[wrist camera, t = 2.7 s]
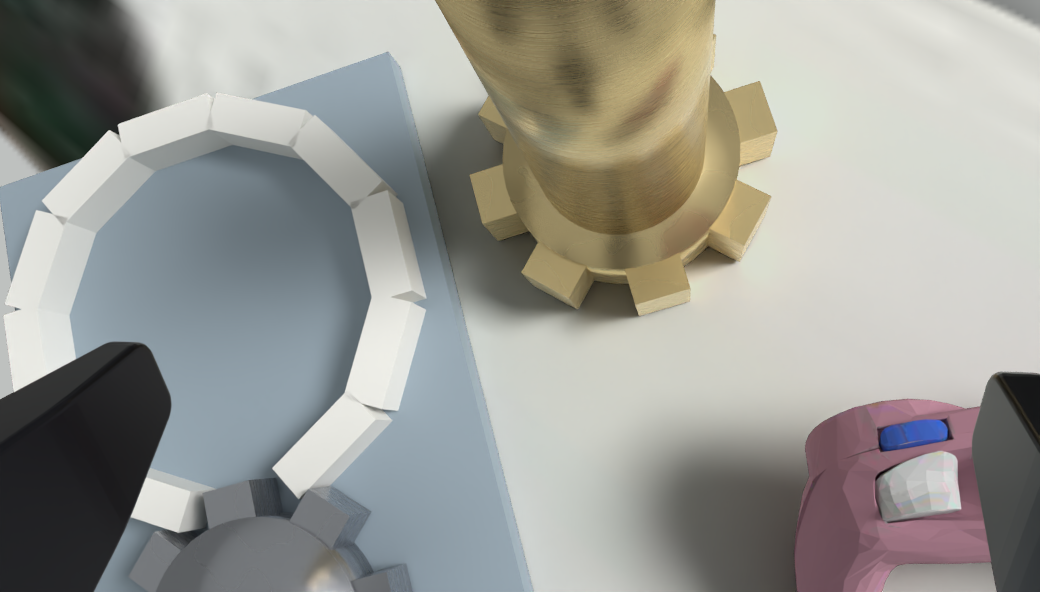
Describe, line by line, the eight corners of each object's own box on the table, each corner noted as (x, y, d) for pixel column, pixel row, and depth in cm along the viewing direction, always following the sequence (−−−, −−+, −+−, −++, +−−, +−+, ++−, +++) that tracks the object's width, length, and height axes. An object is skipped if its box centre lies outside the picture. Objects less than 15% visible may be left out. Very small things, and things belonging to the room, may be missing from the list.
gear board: (562, 705, 20) (547, 735, 18) (113, 809, 22) (51, 848, 20) (400, 67, 24) (372, 30, 22) (24, 197, 26) (-37, 174, 23)
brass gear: (807, 267, 21) (988, 7, 8) (527, 349, 22) (317, 223, 9) (718, 10, 23) (759, -536, 10) (459, 97, 24) (201, -301, 11)
